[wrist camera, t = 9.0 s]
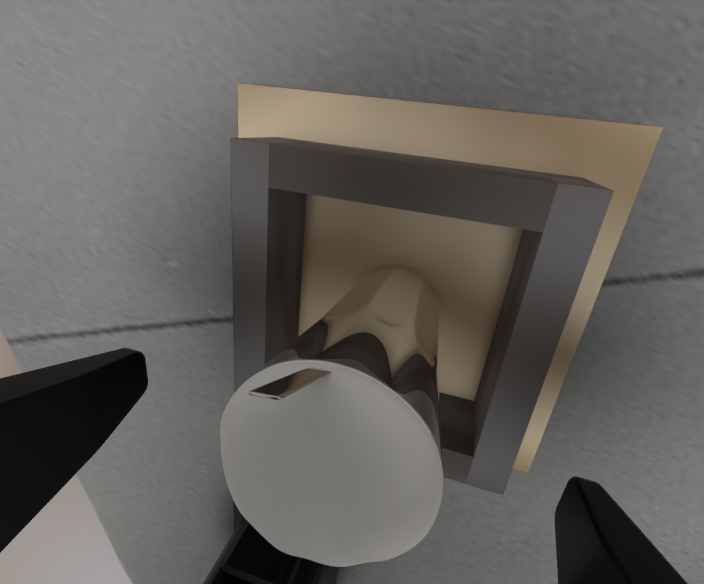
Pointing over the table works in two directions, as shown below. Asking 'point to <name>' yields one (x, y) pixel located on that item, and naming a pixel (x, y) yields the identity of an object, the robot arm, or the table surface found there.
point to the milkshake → (344, 429)
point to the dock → (434, 242)
